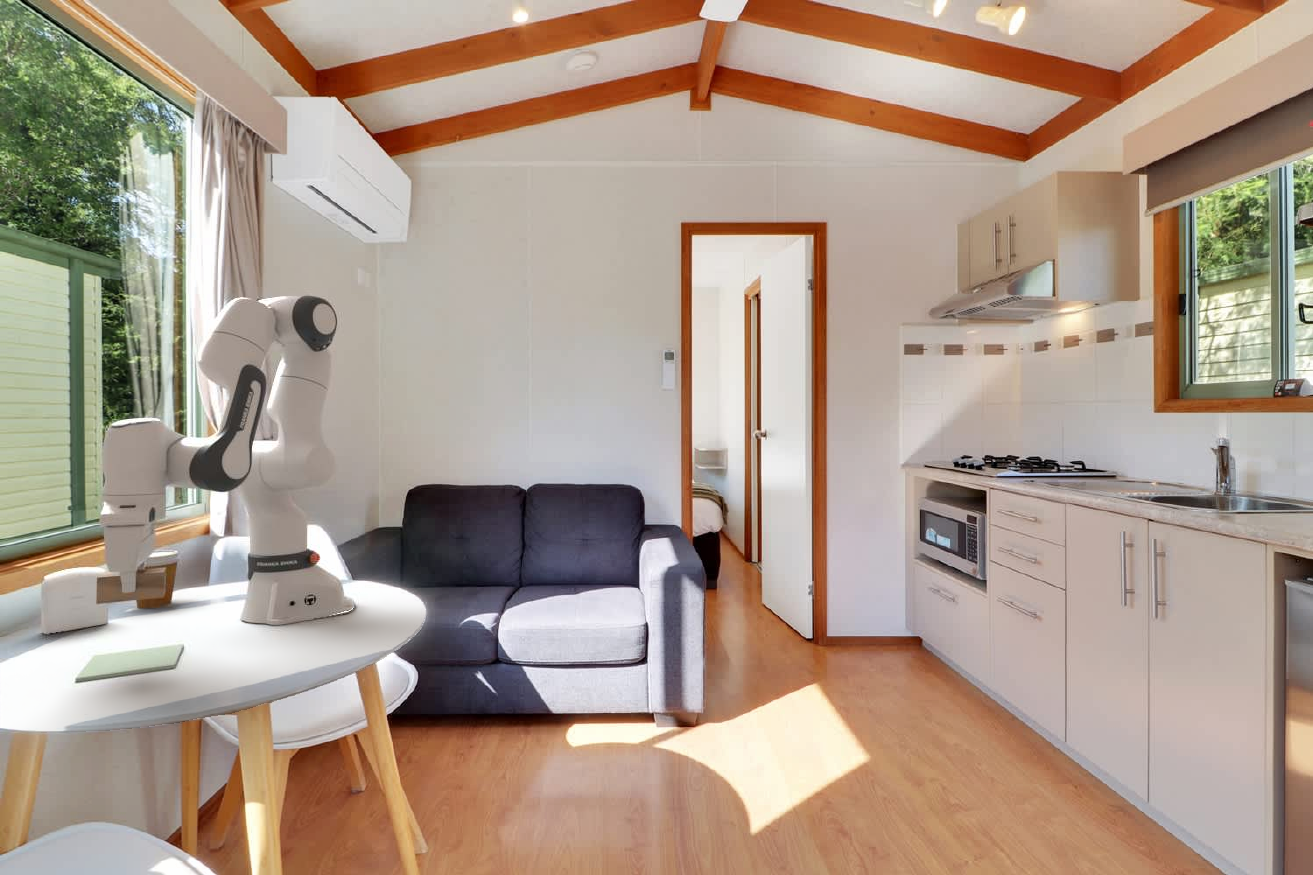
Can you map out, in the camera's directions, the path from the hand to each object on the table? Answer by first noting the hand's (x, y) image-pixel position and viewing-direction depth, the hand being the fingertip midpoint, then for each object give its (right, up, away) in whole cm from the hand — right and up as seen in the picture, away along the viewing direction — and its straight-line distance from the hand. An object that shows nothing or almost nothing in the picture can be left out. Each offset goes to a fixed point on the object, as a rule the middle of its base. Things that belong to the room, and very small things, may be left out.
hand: (132, 588), depth 111 cm
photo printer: (-28, -13, +19) cm, 36 cm away
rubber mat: (0, -13, 0) cm, 13 cm away
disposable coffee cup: (-25, -13, +37) cm, 46 cm away
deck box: (0, -2, 0) cm, 2 cm away
